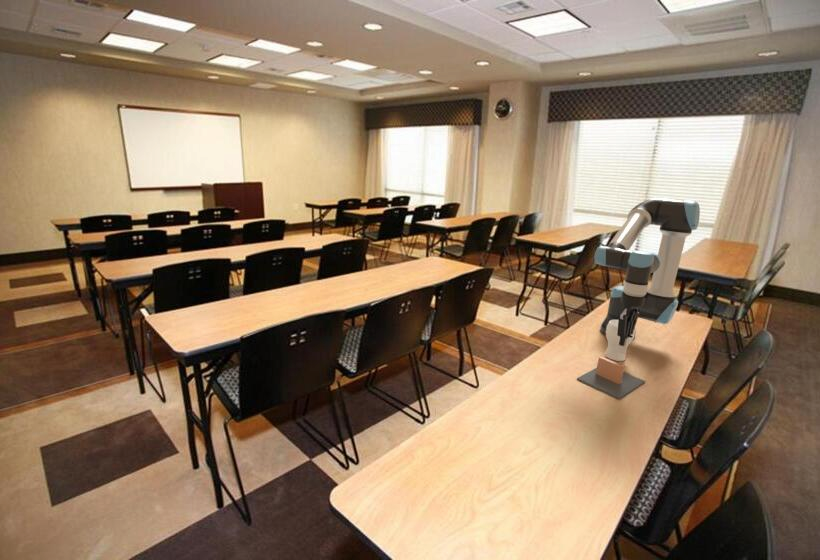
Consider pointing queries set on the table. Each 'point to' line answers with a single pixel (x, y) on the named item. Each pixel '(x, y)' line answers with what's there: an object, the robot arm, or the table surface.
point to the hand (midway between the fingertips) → (621, 352)
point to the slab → (610, 370)
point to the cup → (614, 341)
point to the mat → (612, 383)
